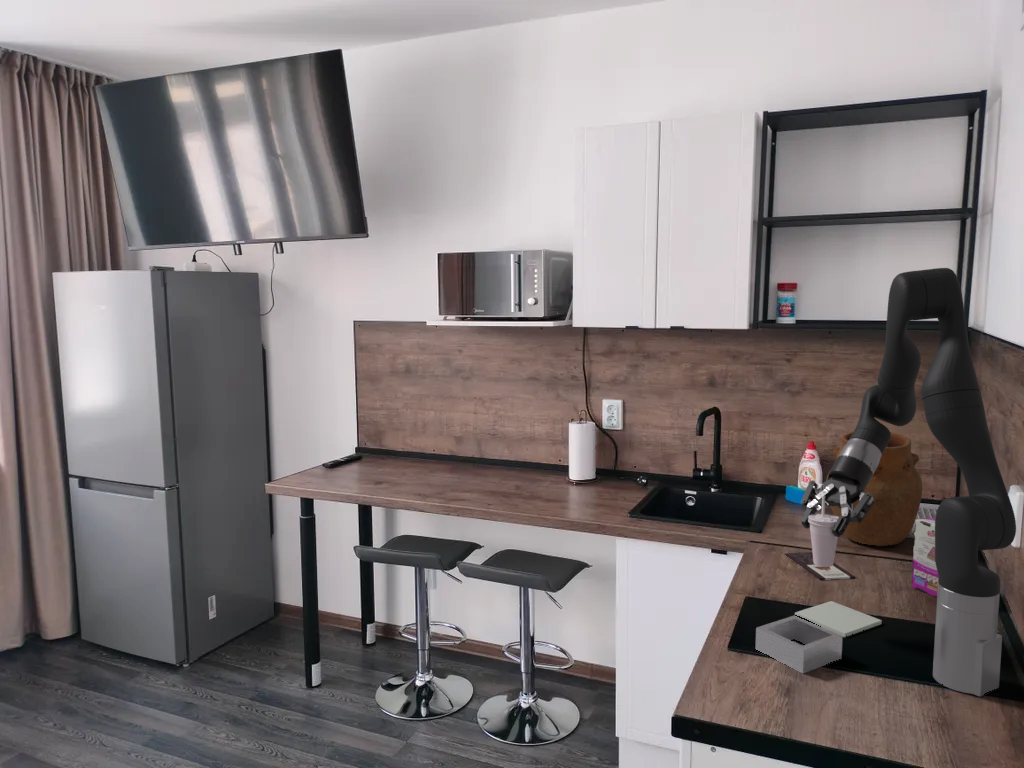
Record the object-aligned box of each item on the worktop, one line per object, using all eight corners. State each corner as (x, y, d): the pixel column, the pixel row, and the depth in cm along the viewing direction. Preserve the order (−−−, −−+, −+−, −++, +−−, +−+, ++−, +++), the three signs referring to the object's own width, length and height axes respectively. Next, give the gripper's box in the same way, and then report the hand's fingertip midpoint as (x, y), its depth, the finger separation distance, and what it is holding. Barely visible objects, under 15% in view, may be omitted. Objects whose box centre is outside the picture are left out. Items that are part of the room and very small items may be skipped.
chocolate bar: (817, 552, 202) (855, 576, 184) (817, 555, 202) (855, 580, 184) (784, 553, 201) (819, 578, 183) (784, 556, 201) (819, 582, 183)
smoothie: (825, 557, 160) (827, 491, 159) (847, 567, 154) (850, 499, 153) (799, 560, 158) (801, 494, 157) (821, 570, 152) (823, 502, 151)
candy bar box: (969, 601, 170) (973, 529, 168) (952, 604, 168) (957, 532, 166) (925, 584, 180) (929, 516, 179) (910, 587, 179) (913, 518, 177)
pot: (819, 546, 208) (823, 438, 205) (828, 523, 229) (832, 424, 226) (919, 560, 197) (925, 445, 193) (918, 534, 218) (924, 430, 215)
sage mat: (881, 624, 159) (881, 620, 158) (844, 637, 152) (844, 633, 152) (831, 604, 169) (831, 600, 169) (794, 616, 163) (794, 612, 163)
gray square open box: (841, 658, 143) (842, 635, 143) (802, 673, 138) (803, 649, 137) (793, 637, 153) (794, 615, 152) (755, 650, 147) (756, 627, 147)
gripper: (817, 449, 164) (781, 511, 159) (882, 460, 152) (845, 528, 147) (831, 469, 167) (796, 532, 162) (895, 482, 156) (859, 550, 150)
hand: (819, 530), depth 155 cm, fingers closed on smoothie, 6 cm apart
